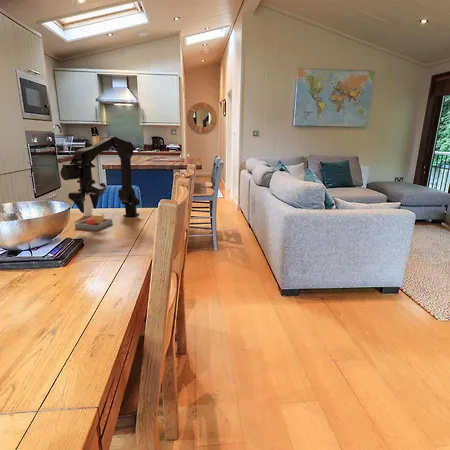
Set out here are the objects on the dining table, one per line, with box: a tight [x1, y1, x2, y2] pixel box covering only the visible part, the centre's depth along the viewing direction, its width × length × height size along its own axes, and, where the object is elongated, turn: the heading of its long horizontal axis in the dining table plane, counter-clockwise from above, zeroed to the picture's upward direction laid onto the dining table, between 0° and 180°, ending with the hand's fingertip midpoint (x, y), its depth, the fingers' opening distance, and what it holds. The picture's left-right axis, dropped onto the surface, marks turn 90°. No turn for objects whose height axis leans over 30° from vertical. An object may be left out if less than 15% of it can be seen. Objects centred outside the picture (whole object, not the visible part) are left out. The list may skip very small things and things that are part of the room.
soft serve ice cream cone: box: [82, 195, 94, 218], centre depth 168 cm, size 8×8×16 cm
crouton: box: [90, 214, 105, 224], centre depth 153 cm, size 4×4×4 cm
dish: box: [74, 217, 113, 232], centre depth 151 cm, size 12×12×2 cm
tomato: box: [86, 217, 95, 225], centre depth 148 cm, size 4×4×4 cm
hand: (89, 210), depth 148 cm, fingers open, 9 cm apart
